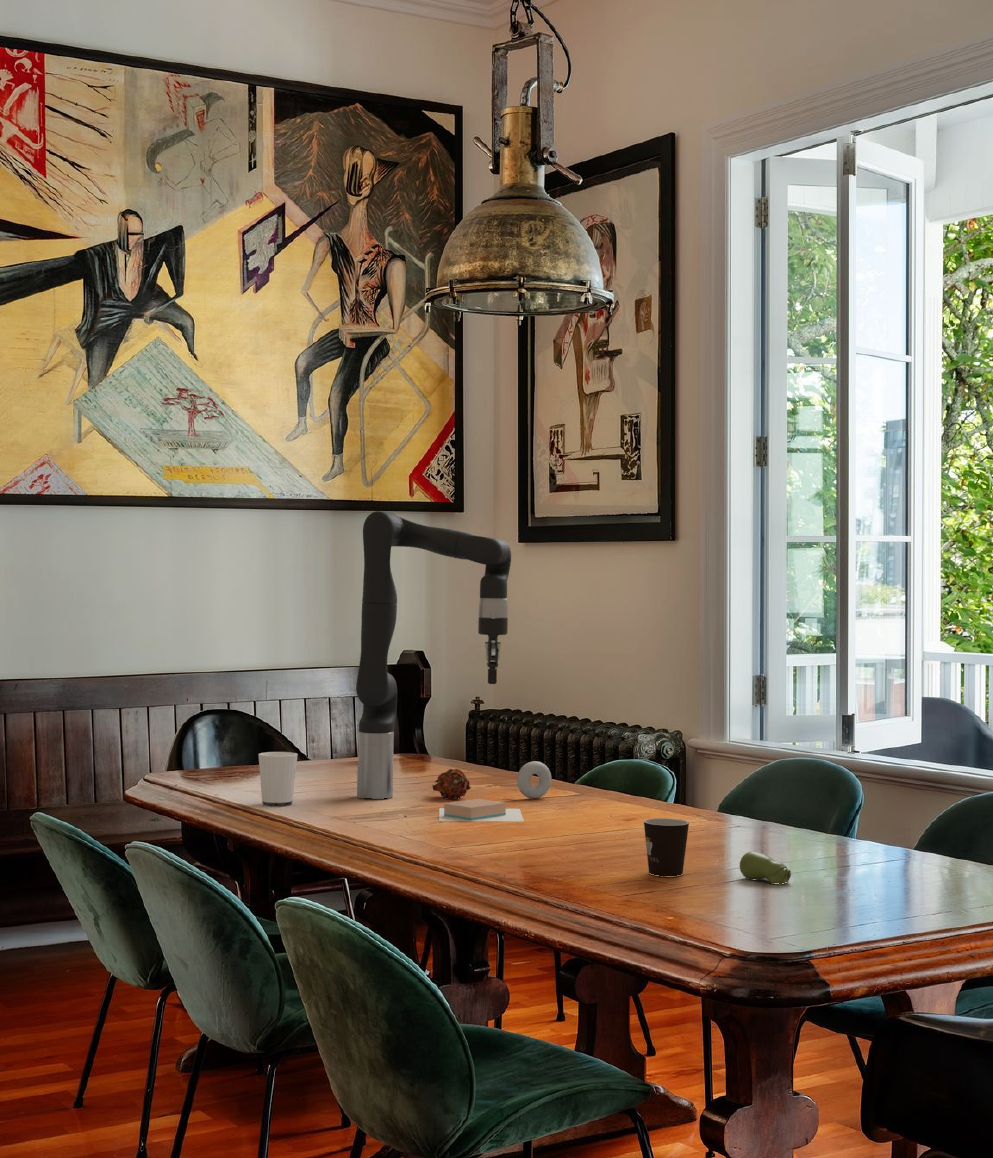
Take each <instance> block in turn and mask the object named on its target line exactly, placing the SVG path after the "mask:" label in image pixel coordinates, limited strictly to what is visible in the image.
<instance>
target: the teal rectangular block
mask: <svg viewBox="0 0 993 1158" xmlns="http://www.w3.org/2000/svg"><path fill="white" fill-rule="evenodd" d="M443 804H444V805H443V806H444V807H443V808H444V816H447V817H453V818H459V819H465V820H478V819H484V818H491V817H497V816H504V815H506V809H507V807H506V806H507V804H506V802H503V801H498V800H497V801H496V800H488V799H483V798H475V799H468V800H460V801H453V802H446V803H443Z"/></svg>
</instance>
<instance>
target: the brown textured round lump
mask: <svg viewBox="0 0 993 1158" xmlns="http://www.w3.org/2000/svg"><path fill="white" fill-rule="evenodd" d="M434 783H435V784H432V790H433V791H435V792H439V793H440V796H441V797H442V798H443V799H444V798H446V799H449V798H450V799H453V800H459V799H460V798H461V797H465V795H466V794H467V791H469V790H471V789H472V787H471V785H470V783H471V782H470V780H469V779H468V777H467V776H466V774H465V773H464V772H463V771H462V770H461V769H459V768H454V769H453V768H449V769H448V770H446V771H445V772H442V773H440V774H439V775H438V776H437V779H436V780H434ZM458 798H459V799H458Z"/></svg>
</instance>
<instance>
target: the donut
mask: <svg viewBox="0 0 993 1158" xmlns="http://www.w3.org/2000/svg"><path fill="white" fill-rule="evenodd" d="M533 775H537V776H538V783H537V784H536V785H535V786H533V785H532V784H531V782H530V779H531V777H532V776H533ZM516 783H517V784H516V785H517V788H518V790H519V792H520V793H521V794H522V795H523V796H524V797H526V798H528V799H530V798H531V800H535V799H534V798H537V799H540V798H542V797H544V796H545V795H546V794H547V793H548V791H549V790H550V788H551V786H552V773H551V771H550V768H549V767H548V766H547V765H546V764H545V763H543V762H541V761H538V760H537V761H536V760H535V761H529V762H527V763H525V764H524V765H522V767H521V768H520V769H519V771H518V774H517V777H516Z"/></svg>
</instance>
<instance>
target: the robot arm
mask: <svg viewBox="0 0 993 1158" xmlns="http://www.w3.org/2000/svg"><path fill="white" fill-rule="evenodd" d="M362 542H363V545H362V546H363V560H364V561H363V579H362V580H363V581H362V583H363V584H362V586H363V587H362V599H361V626H360V627H361V631H360V659H359V665H358V672H357V678H356V685H355V686H356V687H355V691H356V696H357V698H358V700H359V701H360V703H361V704H362V714H361V718H360V720H359V722H358V749H357V750H358V753H357V756H358V758H357V759H358V760H357V773H356V774H357V777H356V779H357V783H356V784H357V785H356V798H357V797H359V798H358V799H364V798H372V799H371V800H384V798H387V799H391V797H392V798H393V796H394V740H395V739H394V737H395V734H394V732H395V731H394V730H395V723H396V719H397V711H398V709H397V706H398V686H397V681H396V679H395V678H394V676H393V675H392V674H390V673H389V672H388V655H389V650H390V646H391V642H392V639H393V636H394V633H395V630H396V629H395V628H396V623H397V614H398V612H397V609H398V594H397V589H396V585H395V581H394V578H393V573H392V570H391V553H392V547H405V548H406V547H407V548H416V549H421V550H425V551H428V552H430V553H433V554H437V555H440V556H444V557H450V558H454V559H458V560H467V561H470V562H474V563H477V564H480V565H481V564H482V565H484V566H485V570H484V575H483V576H482V577H481V579H480V581H479V582H480V583H479V603H478V620H477V621H478V622H477V624H478V626H477V627H478V628H477V629H478V632H477V633H478V635H480V636H481V635H482V636H487V641H485V642H484V648H485V659H486V668H487V684H489V685H496V684H497V681H498V679H497V675H498V674H497V672H498V667H499V663H498V661H499V660H500V650H501V649H502V648H501V645H502V644H501V642H500V641H499V640H498V638H499V636H505V635H507V634H508V633H509V632H508V630H509V629H508V628H509V627H508V626H509V625H508V624H509V623H508V622H509V621H508V619H509V605H508V578H509V576H510V575H509V574H510V569H511V563H512V551H511V547H510V545H509V543H507V542H506V541H505V540H503V539H500V538H492V537H487V536H486V537H485V536H482V535H481V536H480V535H474V534H471V533H468V532H464V531H461V530H454V529H450V528H444V527H443V528H442V527H436V526H427V525H423V524H419V523H417V522H413V521H410V520H408V519H405V518H403V517H401V516H398V514H397V515H396V514H395V513H392V512H387V511H382V510H381V511H380V510H378V511H373V512H371V513H370V514H368V516H367V517H366V519H365V520H364V522H363V526H362Z"/></svg>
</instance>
